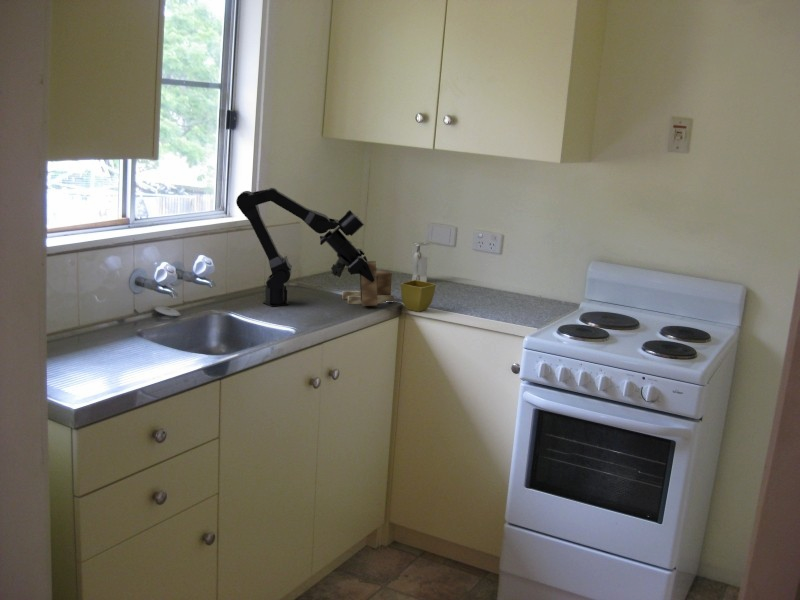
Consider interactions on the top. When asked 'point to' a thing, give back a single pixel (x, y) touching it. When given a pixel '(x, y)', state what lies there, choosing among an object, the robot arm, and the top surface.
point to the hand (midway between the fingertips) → (373, 279)
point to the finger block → (369, 287)
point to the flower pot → (417, 294)
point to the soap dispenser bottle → (420, 260)
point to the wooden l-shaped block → (382, 290)
